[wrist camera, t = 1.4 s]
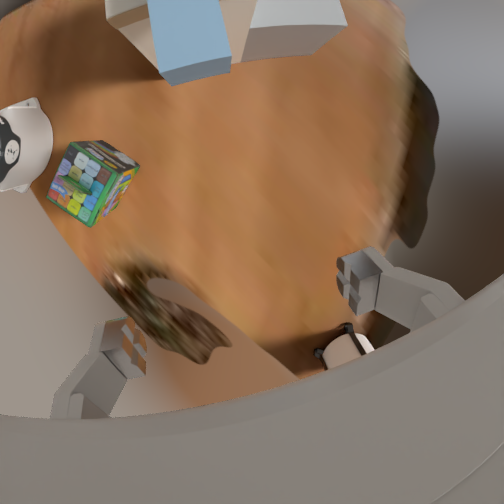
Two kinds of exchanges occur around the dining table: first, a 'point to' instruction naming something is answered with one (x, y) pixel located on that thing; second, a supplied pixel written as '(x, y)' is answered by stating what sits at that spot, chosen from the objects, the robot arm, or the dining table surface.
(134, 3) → the carton
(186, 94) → the dining table surface
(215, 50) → the blue square bar
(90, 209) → the chalk box
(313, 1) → the block
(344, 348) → the coffee press
